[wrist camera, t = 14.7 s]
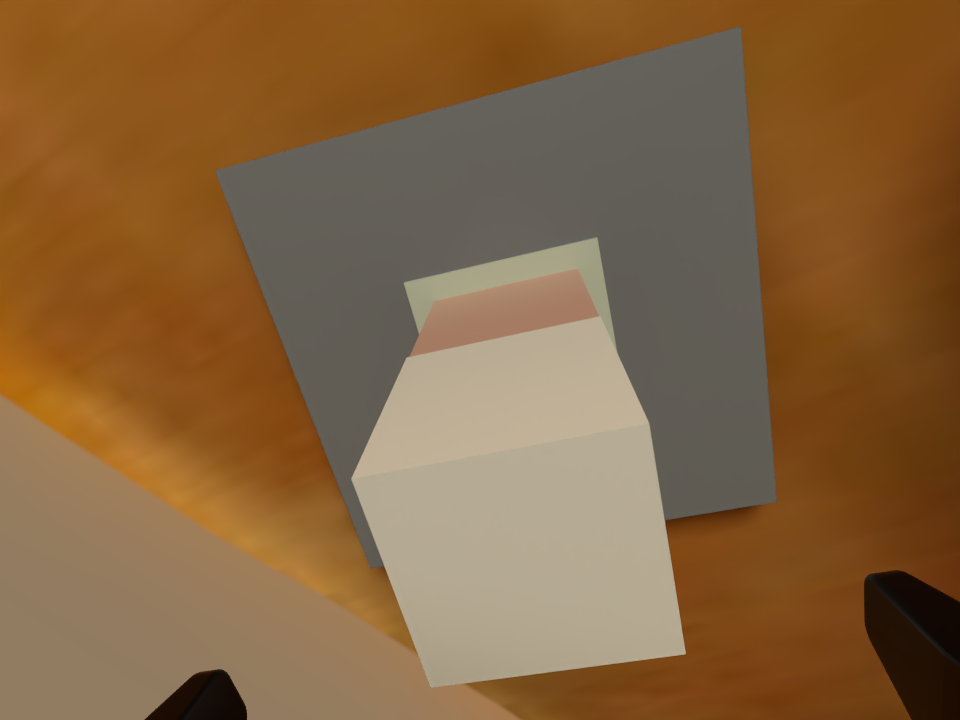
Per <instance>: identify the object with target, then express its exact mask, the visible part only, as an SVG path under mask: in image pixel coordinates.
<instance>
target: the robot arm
mask: <svg viewBox="0 0 960 720" xmlns="http://www.w3.org/2000/svg"><path fill="white" fill-rule="evenodd" d="M864 614H865V627H866V631H867V634H868V636H869V639H870V641H871V643H872V645H873V647H874V649H875V651H876V653H877V655H878V657H879V658H880V660H881V662H882V664H883V666H884V668H885V670H886V672H887V674H888V676H889V677H890V679H891V681H892V683H893V685H894V687H895V689H896V691H897V693H898V695H899V696H900V698H901V700H902V702H903V704H904V706H905V708H906V710H907V712H908V714H909V715H910V717H911V719H912V720H960V602H959V601H957V600H955V599H954V598H952V597H950V596H948V595H946V594H944V593H943V592H941V591H939V590H937V589H935V588H934V587H932V586H930V585H928V584H926V583H924V582H923V581H921V580H919V579H917V578H915V577H914V576H912V575H910V574H908V573H906V572H903V571H898V570H895V571H888V572H881V573H874V574H870V575H868V576H867V577H866V578H865V582H864ZM145 720H247V710H246V706H245V704H244V702H243V700H242V698H241V697H240V694H239V693H238V691H237V689H236V687H235V686H234V684H233V682H232V680H231V678H230V676H229V675H228V673H227V672H225V671H224V670H220V669H218V670H211V671H204V672H199V673H196V674H195V675H193V676H192V677H191V678H189V679H188V680H187V681H186V682H185V683H184V684H183V685H182V686H181V687H180V688H179V689H177V690H176V691H175V692H174V693H173V694H172V695H171V696H170V697H169V698H168V699H167V700H165V702H163V703H162V704H161V705H160V706H159V707H158V708H157V709H156V710H154V711H153V712H152V713H151V714H150V715H149V716H148V717H147V718H146V719H145Z"/></svg>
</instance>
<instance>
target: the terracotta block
mask: <svg viewBox="0 0 960 720" xmlns="http://www.w3.org/2000/svg"><path fill="white" fill-rule="evenodd" d="M594 317H599V315H598V312H597V310H596V308H595V306H594V303H593V301H592V299H591V297H590V295H589V292H588V290H587V288H586V286H585V283H584V281H583V279H582V277H581V275H580V272H579V270H578V268H577V269H572V270H568V271H564V272H559V273H555V274H550V275H546V276H542V277H537V278H533V279H528V280H524V281H520V282H515V283H511V284H507V285H502V286H498V287H493V288H489V289H485V290H480V291H476V292H471V293H467V294H463V295H458V296H454V297H449V298H445V299H441V300H436V301H434V303H433V305H432V307H431V310H430V312H429V314H428V316H427V319H426V321H425V323H424V325H423V328H422V330H421V332H420V334H419V337H418V339H417V341H416V343H415V346H414V348H413V350H412V352H411V354H410V357H412V356H416V355H421V354H426V353H430V352H435V351H440V350H444V349H449V348H454V347H458V346H463V345H468V344H472V343H477V342H482V341H486V340H491V339H496V338H500V337H505V336H510V335H515V334H519V333H524V332H529V331H533V330H538V329H543V328H547V327H552V326H557V325H561V324H566V323H571V322H575V321H580V320H585V319H589V318H594Z"/></svg>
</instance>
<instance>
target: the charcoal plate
mask: <svg viewBox="0 0 960 720" xmlns="http://www.w3.org/2000/svg"><path fill="white" fill-rule="evenodd" d="M215 173H216V175H217V178H218V180H219V183H220V185H221V188H222V190H223V193H224V196H225V198H226V201H227V203H228V206H229V208H230V211H231V213H232V216H233V219H234V221H235V224H236V226H237V229H238V231H239V234H240V236H241V239H242V241H243V244H244V247H245V249H246V252H247V254H248V257H249V259H250V262H251V264H252V267H253V269H254V272H255V275H256V277H257V280H258V282H259V285H260V287H261V290H262V292H263V295H264V298H265V300H266V303H267V305H268V308H269V310H270V313H271V315H272V318H273V320H274V323H275V326H276V328H277V331H278V333H279V336H280V338H281V341H282V343H283V346H284V348H285V351H286V354H287V356H288V359H289V361H290V364H291V366H292V369H293V371H294V374H295V377H296V379H297V382H298V384H299V387H300V389H301V392H302V394H303V397H304V399H305V402H306V405H307V407H308V410H309V412H310V415H311V417H312V420H313V422H314V425H315V428H316V430H317V433H318V435H319V438H320V440H321V443H322V445H323V448H324V450H325V453H326V456H327V458H328V461H329V463H330V466H331V468H332V471H333V473H334V476H335V478H336V481H337V484H338V486H339V489H340V491H341V494H342V496H343V499H344V501H345V504H346V507H347V509H348V512H349V514H350V517H351V519H352V522H353V524H354V527H355V529H356V532H357V535H358V537H359V540H360V542H361V545H362V547H363V550H364V552H365V555H366V558H367V560H368V563H369V565H370V568H377V567H383V566H384V564H383V561H382V559H381V556H380V553H379V551H378V548H377V545H376V543H375V540H374V537H373V535H372V532H371V530H370V527H369V524H368V522H367V519H366V516H365V514H364V511H363V509H362V506H361V503H360V501H359V498H358V495H357V493H356V490H355V487H354V485H353V482H352V480H351V478H352V476H353V474H354V472H355V470H356V467H357V465H358V463H359V461H360V459H361V456H362V454H363V452H364V450H365V448H366V445H367V443H368V441H369V439H370V437H371V434H372V432H373V430H374V428H375V426H376V424H377V421H378V419H379V417H380V415H381V413H382V410H383V408H384V406H385V404H386V402H387V399H388V397H389V395H390V393H391V391H392V388H393V386H394V384H395V382H396V380H397V378H398V375H399V373H400V371H401V369H402V367H403V364H404V362H405V360H406V358H407V357H410V354H411V352H412V350H413V348H414V346H415V343H416V341H417V339H418V337H419V334H420V332H421V330H422V328H423V325H424V323H425V321H426V319H427V316H428V314H429V312H430V310H431V307H432V305H433V303H434V301H436V300H441V299H445V298H449V297H454V296H458V295H463V294H467V293H471V292H476V291H480V290H485V289H489V288H493V287H498V286H502V285H507V284H511V283H515V282H520V281H524V280H528V279H533V278H537V277H542V276H546V275H550V274H555V273H559V272H564V271H568V270H572V269H577V268H578V270H579V272H580V275H581V277H582V279H583V281H584V283H585V286H586V288H587V290H588V292H589V295H590V297H591V299H592V301H593V303H594V306H595V308H596V310H597V312H598V315H599V316H601V319H602V321H603V323H604V325H605V327H606V330H607V332H608V334H609V336H610V338H611V340H612V343H613V345H614V347H615V349H616V351H617V354H618V356H619V358H620V360H621V362H622V365H623V367H624V369H625V371H626V373H627V376H628V378H629V380H630V382H631V384H632V387H633V389H634V391H635V393H636V395H637V398H638V400H639V402H640V404H641V406H642V408H643V411H644V413H645V415H646V417H647V419H648V422H649V425H650V431H651V438H652V444H653V450H654V457H655V463H656V469H657V475H658V482H659V488H660V494H661V501H662V507H663V513H664V520H669V519H675V518H682V517H688V516H694V515H700V514H706V513H712V512H718V511H724V510H730V509H736V508H742V507H749V506H755V505H761V504H767V503H773V502H777V501H776V487H775V474H774V461H773V447H772V434H771V421H770V408H769V394H768V381H767V368H766V354H765V341H764V328H763V315H762V301H761V288H760V275H759V261H758V248H757V235H756V221H755V208H754V195H753V182H752V168H751V155H750V142H749V128H748V115H747V102H746V89H745V75H744V62H743V49H742V35H741V27H737V28H734V29H730V30H726V31H723V32H719V33H715V34H712V35H708V36H704V37H701V38H697V39H694V40H690V41H686V42H683V43H679V44H675V45H672V46H668V47H664V48H661V49H657V50H653V51H650V52H646V53H642V54H639V55H635V56H631V57H628V58H624V59H620V60H617V61H613V62H610V63H606V64H602V65H599V66H595V67H591V68H588V69H584V70H580V71H577V72H573V73H569V74H566V75H562V76H558V77H555V78H551V79H547V80H544V81H540V82H537V83H533V84H529V85H526V86H522V87H518V88H515V89H511V90H507V91H504V92H500V93H496V94H493V95H489V96H485V97H482V98H478V99H474V100H471V101H467V102H463V103H460V104H456V105H453V106H449V107H445V108H442V109H438V110H434V111H431V112H427V113H423V114H420V115H416V116H412V117H409V118H405V119H401V120H398V121H394V122H390V123H387V124H383V125H380V126H376V127H372V128H369V129H365V130H361V131H358V132H354V133H350V134H347V135H343V136H339V137H336V138H332V139H328V140H325V141H321V142H317V143H314V144H310V145H306V146H303V147H299V148H296V149H292V150H288V151H285V152H281V153H277V154H274V155H270V156H266V157H263V158H259V159H255V160H252V161H248V162H244V163H241V164H237V165H233V166H230V167H226V168H223V169H219V170H215Z"/></svg>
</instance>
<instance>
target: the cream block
mask: <svg viewBox="0 0 960 720" xmlns="http://www.w3.org/2000/svg"><path fill="white" fill-rule="evenodd" d="M351 480H352V482H353V485H354V487H355V490H356V493H357V495H358V498H359V501H360V503H361V506H362V509H363V511H364V514H365V516H366V519H367V522H368V524H369V527H370V530H371V532H372V535H373V537H374V540H375V543H376V545H377V548H378V551H379V553H380V556H381V559H382V561H383V564H384V566H385V569H386V572H387V574H388V577H389V580H390V582H391V585H392V587H393V590H394V593H395V595H396V598H397V601H398V603H399V606H400V609H401V611H402V614H403V616H404V619H405V622H406V624H407V627H408V630H409V632H410V635H411V638H412V640H413V643H414V645H415V648H416V651H417V653H418V656H419V659H420V661H421V664H422V666H423V669H424V672H425V674H426V677H427V679H428V682H429V685H430V687H431V688H433V687H441V686H448V685H456V684H464V683H471V682H479V681H486V680H494V679H502V678H509V677H517V676H524V675H532V674H540V673H547V672H555V671H562V670H570V669H577V668H585V667H593V666H600V665H608V664H615V663H623V662H631V661H638V660H646V659H653V658H661V657H668V656H676V655H684V654H686V652H685V646H684V640H683V633H682V627H681V621H680V614H679V608H678V602H677V596H676V589H675V583H674V577H673V570H672V564H671V558H670V551H669V545H668V539H667V532H666V526H665V520H664V513H663V507H662V501H661V494H660V488H659V482H658V475H657V469H656V463H655V457H654V450H653V444H652V438H651V431H650V425H649V422H648V419H647V417H646V415H645V413H644V411H643V408H642V406H641V404H640V402H639V400H638V398H637V395H636V393H635V391H634V389H633V387H632V384H631V382H630V380H629V378H628V376H627V373H626V371H625V369H624V367H623V365H622V362H621V360H620V358H619V356H618V354H617V351H616V349H615V347H614V345H613V343H612V340H611V338H610V336H609V334H608V332H607V330H606V327H605V325H604V323H603V321H602V319H601V316H599V317H594V318H589V319H585V320H580V321H575V322H571V323H566V324H561V325H557V326H552V327H547V328H543V329H538V330H533V331H529V332H524V333H519V334H515V335H510V336H505V337H500V338H496V339H491V340H486V341H482V342H477V343H472V344H468V345H463V346H458V347H454V348H449V349H444V350H440V351H435V352H430V353H426V354H421V355H416V356H412V357H407V358H406V360H405V362H404V364H403V367H402V369H401V371H400V373H399V375H398V378H397V380H396V382H395V384H394V386H393V388H392V391H391V393H390V395H389V397H388V399H387V402H386V404H385V406H384V408H383V410H382V413H381V415H380V417H379V419H378V421H377V424H376V426H375V428H374V430H373V432H372V434H371V437H370V439H369V441H368V443H367V445H366V448H365V450H364V452H363V454H362V456H361V459H360V461H359V463H358V465H357V467H356V470H355V472H354V474H353V476H352V478H351Z"/></svg>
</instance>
